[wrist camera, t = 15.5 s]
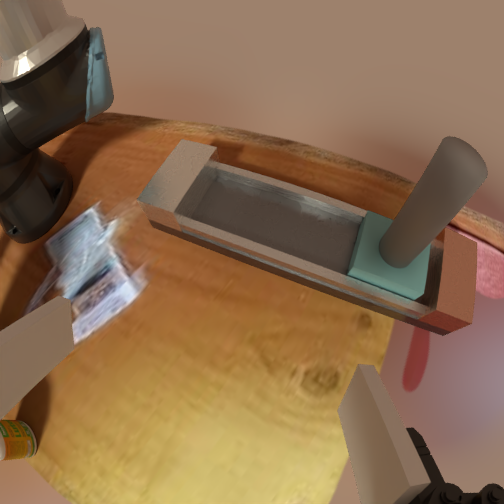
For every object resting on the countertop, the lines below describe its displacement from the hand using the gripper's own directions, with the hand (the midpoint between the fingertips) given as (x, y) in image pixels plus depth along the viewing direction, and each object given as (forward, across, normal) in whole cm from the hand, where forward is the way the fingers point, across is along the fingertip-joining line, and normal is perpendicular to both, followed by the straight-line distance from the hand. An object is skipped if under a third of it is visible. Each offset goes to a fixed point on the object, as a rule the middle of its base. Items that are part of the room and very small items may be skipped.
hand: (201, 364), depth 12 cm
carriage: (+20, +16, +2) cm, 25 cm away
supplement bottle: (+6, -24, -27) cm, 36 cm away
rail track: (+24, +8, +2) cm, 25 cm away
